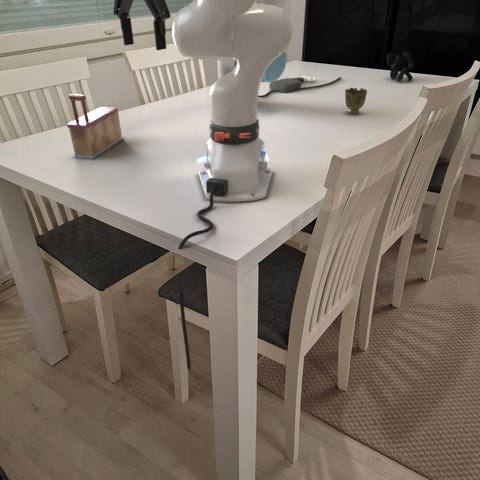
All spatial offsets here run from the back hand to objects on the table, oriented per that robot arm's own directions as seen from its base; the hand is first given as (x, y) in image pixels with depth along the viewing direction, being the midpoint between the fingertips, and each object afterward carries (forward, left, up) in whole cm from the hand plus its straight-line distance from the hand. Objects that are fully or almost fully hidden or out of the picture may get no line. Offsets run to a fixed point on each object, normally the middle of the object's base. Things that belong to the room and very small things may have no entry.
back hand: (144, 47), depth 118 cm
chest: (+11, -13, -28) cm, 33 cm away
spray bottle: (-87, -12, -28) cm, 92 cm away
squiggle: (-125, +19, -28) cm, 129 cm away
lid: (+11, -13, -19) cm, 26 cm away
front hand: (-22, +11, +20) cm, 32 cm away
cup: (-66, +28, -28) cm, 77 cm away
